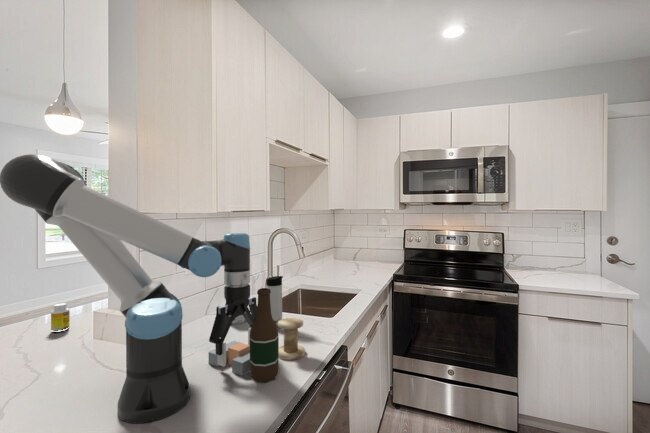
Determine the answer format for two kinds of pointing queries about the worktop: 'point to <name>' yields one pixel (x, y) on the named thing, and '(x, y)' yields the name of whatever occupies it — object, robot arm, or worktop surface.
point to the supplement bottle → (60, 317)
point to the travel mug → (275, 297)
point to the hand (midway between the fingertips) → (237, 356)
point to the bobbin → (291, 339)
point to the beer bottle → (264, 341)
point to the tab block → (237, 351)
